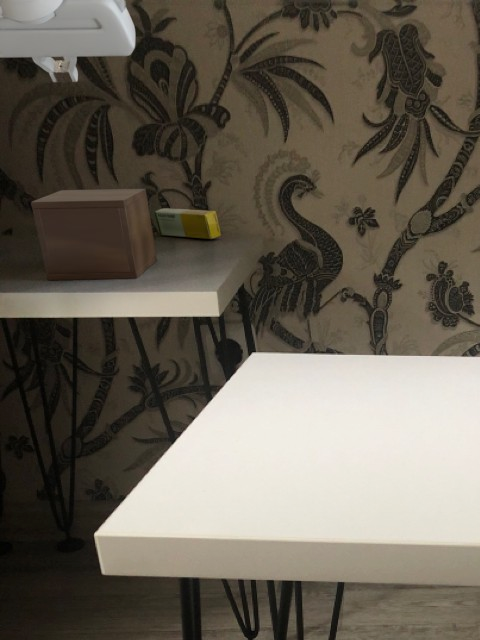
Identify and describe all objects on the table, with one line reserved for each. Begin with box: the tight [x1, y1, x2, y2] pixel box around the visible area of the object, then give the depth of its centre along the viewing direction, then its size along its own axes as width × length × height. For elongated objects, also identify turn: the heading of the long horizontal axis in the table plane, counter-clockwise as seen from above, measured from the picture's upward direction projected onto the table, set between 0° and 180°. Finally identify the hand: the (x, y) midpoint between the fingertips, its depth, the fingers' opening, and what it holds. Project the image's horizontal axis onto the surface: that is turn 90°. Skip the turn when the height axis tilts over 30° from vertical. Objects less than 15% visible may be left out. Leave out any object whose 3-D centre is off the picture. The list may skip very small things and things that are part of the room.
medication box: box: [154, 207, 222, 240], centre depth 151 cm, size 12×3×4 cm, turn 59°
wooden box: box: [30, 188, 158, 281], centre depth 125 cm, size 14×12×10 cm
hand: (66, 78), depth 114 cm, fingers closed
